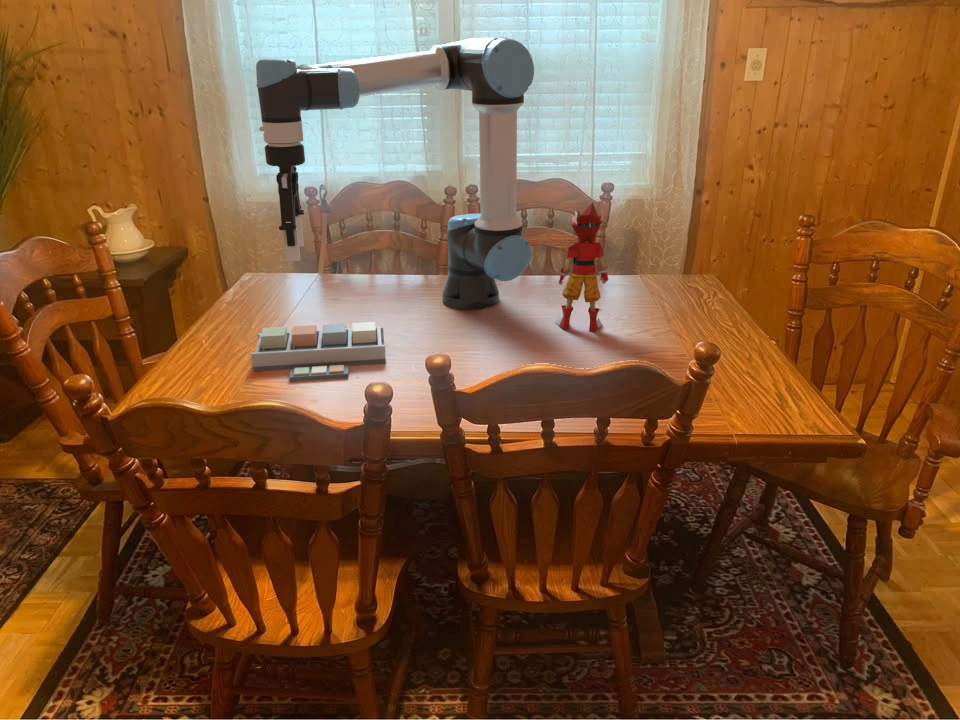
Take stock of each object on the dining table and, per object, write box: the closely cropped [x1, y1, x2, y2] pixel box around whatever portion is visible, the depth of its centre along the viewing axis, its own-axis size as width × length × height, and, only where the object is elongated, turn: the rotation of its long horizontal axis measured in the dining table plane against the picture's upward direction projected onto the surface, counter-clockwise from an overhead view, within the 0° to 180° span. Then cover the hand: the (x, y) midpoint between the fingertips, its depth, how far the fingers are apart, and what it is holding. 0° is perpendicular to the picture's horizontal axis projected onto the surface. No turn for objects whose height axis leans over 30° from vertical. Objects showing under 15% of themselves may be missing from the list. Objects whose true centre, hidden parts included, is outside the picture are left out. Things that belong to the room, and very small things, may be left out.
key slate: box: [321, 322, 347, 345], centre depth 162 cm, size 5×5×3 cm
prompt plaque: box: [288, 365, 350, 383], centre depth 155 cm, size 12×4×1 cm, turn 99°
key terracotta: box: [291, 324, 318, 347], centre depth 161 cm, size 5×5×3 cm
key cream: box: [351, 321, 376, 343], centre depth 163 cm, size 5×5×3 cm
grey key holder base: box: [250, 325, 387, 372], centre depth 163 cm, size 28×12×4 cm, turn 99°
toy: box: [554, 202, 610, 333], centre depth 174 cm, size 12×9×30 cm
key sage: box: [260, 326, 288, 349], centre depth 160 cm, size 5×5×3 cm
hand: (295, 253), depth 154 cm, fingers open, 10 cm apart
